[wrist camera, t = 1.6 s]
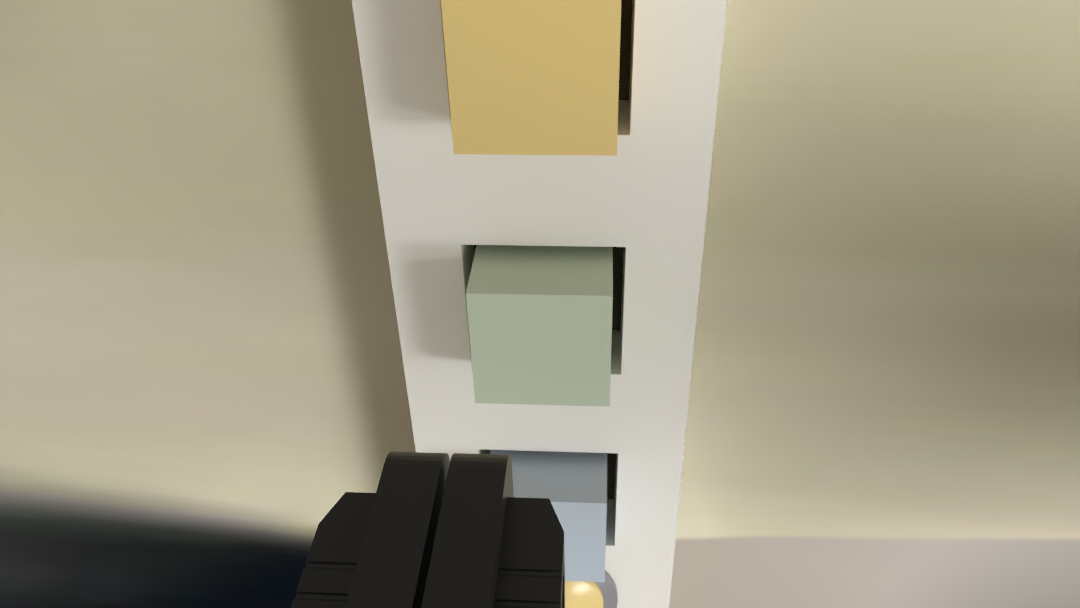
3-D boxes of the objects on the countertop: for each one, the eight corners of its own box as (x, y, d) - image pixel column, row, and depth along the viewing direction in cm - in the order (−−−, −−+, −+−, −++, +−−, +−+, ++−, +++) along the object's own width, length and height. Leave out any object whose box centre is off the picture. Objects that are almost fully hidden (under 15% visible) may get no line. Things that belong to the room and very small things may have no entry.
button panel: (731, -174, 24) (745, -152, 21) (662, 595, 43) (666, 657, 40) (353, -169, 25) (322, -146, 22) (449, 587, 43) (439, 647, 41)
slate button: (607, 443, 35) (606, 503, 32) (605, 521, 37) (604, 582, 35) (492, 440, 35) (483, 499, 33) (498, 517, 38) (490, 577, 35)
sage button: (612, 242, 30) (612, 295, 27) (609, 349, 32) (609, 406, 30) (477, 240, 30) (465, 293, 28) (485, 346, 32) (475, 403, 30)
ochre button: (620, -46, 24) (621, -11, 22) (616, 109, 27) (616, 155, 25) (456, -45, 25) (439, -10, 22) (468, 108, 27) (453, 154, 25)
